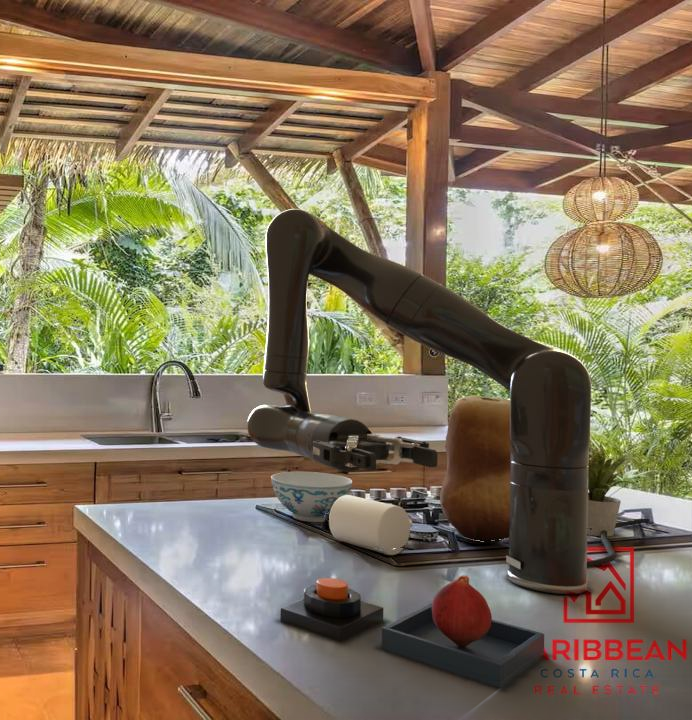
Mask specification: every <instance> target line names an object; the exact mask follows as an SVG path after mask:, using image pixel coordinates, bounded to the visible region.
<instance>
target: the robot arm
mask: <svg viewBox="0 0 692 720" xmlns="http://www.w3.org/2000/svg"><path fill="white" fill-rule="evenodd" d="M265 252H266V253H265V255H266V265H267V266H266V267H267V282H268V285H267V286H268V287H267V288H268V308H267V309H268V310H267V311H268V312H267V328H266V329H267V331H266V341H265V350H264V351H265V352H264V361H263V374H262V384H263V386H264V387H265V388H266V389H268V390H270V391H273V392H276V393H280V394H282V395H283V397H284V398H283V399H284V400H285V405H275V404H274V405H273V404H262V405H259V406H257V407H255V408H254V409H253V410H252V411H251V412H250V414H249V416H248V417H247V421H246V430H247V434H248V436H249V437H250V439H251V440H252V442H253V443H255V444H256V445H257V446H259V447H261V448H265V449H271V450H278V451H284V452H285V451H286V452H290V453H294V454H296V455H299V456H301V457H305V458H308V459H309V460H311V461H313V462H314V463H318V464H320V465H323V466H326V467H328V468H330V469H331V468H332V469H334V470H338V471H339V472H344V473H352V472H356V471H359V470H362V469H363V470H366V471H369V472H371V471H376V470H377V464H384V465H385V464H387V465H394V466H395V465H396V466H397V465H399V464H401V463H410V464H414V465H415V464H416V465H420V466H423V467H426V468H427V467H428V468H437V466H438V452H437V450H436V449H433V448H432V449H431V448H430V443H429V442H427V441H421V440H417V439H413V438H407V437H403V436H395V437H387V436H381V435H380V434H373V432H372V431H371V429H370V428H369V427H368V426H367V425H366V423H364V422H362V421H360V420H358V419H353V418H348V417H342V416H339V415H334V414H330V413H317V412H312V410H311V405H310V400H309V392H308V385H307V377H308V374H307V372H308V363H309V356H310V329H309V319H308V308H307V307H308V306H307V304H308V303H307V298H308V297H307V295H308V292H307V291H308V283H309V277H310V275H311V276H313V277H315V278H317V279H319V280H321V281H323V282H325V283H327V284H330V285H331V286H333V287H335V288H337V289H338V290H340V291H342V292H343V293H344V294H345V295H347V296H348V297H349V298H350V299H352V301H354V303H356V304H357V305H358V306H360V307H361V308H362V309H363V310H365V311H366V312H367V313H369V314H370V315H371V316H372V317H374V318H375V319H377V320H378V321H380V322H381V323H383V324H385V325H386V326H388V327H390V328H391V329H393V330H394V331H396V332H398V333H400V334H402V335H403V336H404V337H406V338H408V339H410V340H412V341H414V342H416V343H418V344H420V345H422V346H424V347H426V348H428V349H431V350H432V351H433V350H434V351H436V352H438V353H440V354H443V355H446V356H448V357H450V358H453V359H455V360H458V361H460V362H463V363H465V364H467V365H469V366H471V367H473V368H474V369H476V370H478V371H479V372H482V373H483V374H484V375H485V376H487V377H489V378H490V379H492V380H493V381H495V382H496V383H498V384H499V385H501V386H502V387H503V388H505V389H506V390H507V391H509V400H510V460H511V461H510V528H509V537H508V555H505V562H506V563H507V564H508V569H507V579H508V580H509V581H510V582H512V583H513V584H515V585H518V586H520V587H523V588H525V589H529V590H534V591H538V592H543V593H549V594H558V595H577V594H583V593H586V592H587V591H588V580H587V575H588V573H587V570H588V568H593V567H599V566H603V565H607V564H609V563H612V562H614V561H615V559H617V553H616V551H615V550H614V548H613V546H612V544H611V542H610V540H609V538H608V536H607V531H605V530H604V531H602V532H601V536H600V540H601V543H602V544H603V546H604V548H605V550H606V552H607V554H608V555H606V556H604V557H601V558H597V559H593V560H588V534H587V528H588V492H589V490H588V465H589V460H590V459H589V458H590V445H591V413H592V411H591V410H592V380H591V376H590V373H589V371H588V369H587V367H586V366H585V365H584V364H583V362H581V360H580V359H578V358H577V357H576V356H574V355H572V354H570V353H568V352H565V351H563V350H560V349H557V348H553V347H551V346H548V345H545V344H543V343H542V342H541V343H540V342H538V341H536V340H534V339H532V338H529V337H528V336H525V335H522V334H520V333H518V332H516V331H515V330H512V329H510V328H508V327H506V326H505V325H503V324H501V323H500V322H498V321H496V320H495V319H493V318H492V317H490V316H489V315H488V314H486V313H485V312H484V311H482V310H481V309H480V308H478V307H477V306H475V305H474V304H472V302H470V301H468V300H467V299H465V298H464V297H462V296H461V295H459V294H458V293H456V292H455V291H453V290H451V289H450V288H448V287H446V286H445V285H443V284H441V283H439V282H437V281H435V280H434V279H431V278H430V277H429V276H426V275H424V274H423V273H420V272H419V271H416V270H415V269H412V268H410V267H407V266H405V265H403V264H400V263H398V262H396V261H393V260H391V259H388V258H384V257H382V256H379V255H376V254H374V253H372V252H368V251H366V250H365V249H362V248H361V247H359V246H358V245H356V244H354V243H353V242H351V241H350V240H349V239H347V238H345V237H344V236H342V235H341V234H339V233H338V232H336V231H335V230H334V229H333V228H331V227H330V226H328V224H326V223H325V222H324V221H323V220H321V219H320V218H318V217H317V216H315V215H314V214H312V213H310V212H308V211H306V210H303V209H299V208H291V209H290V208H289V209H287V210H283V211H281V212H280V213H278V214H276V216H274V218H273V219H272V220H271V221H270V222H269V225H268V226H267V229H266V232H265ZM391 451H392V452H393V458H389V456H390V452H391ZM642 518H643V517H642ZM642 518H641V517H640V518H634V519H633V518H632V519H631V520H634V521H628V522H623V523H622V522H620V521H616V525H615V529H618V528H622V527H626V526H630V525H639V524H647V523H650V519H642ZM604 540H605V541H604Z"/></svg>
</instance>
